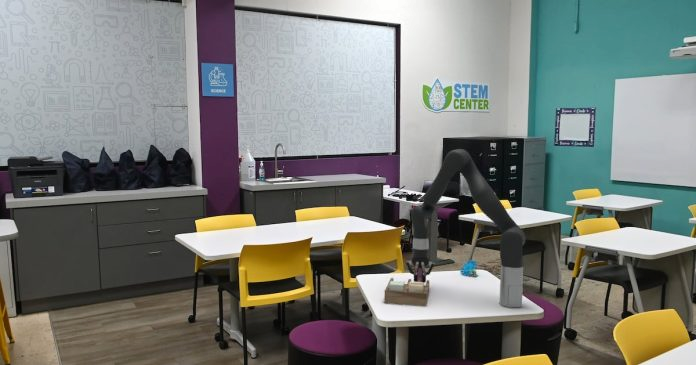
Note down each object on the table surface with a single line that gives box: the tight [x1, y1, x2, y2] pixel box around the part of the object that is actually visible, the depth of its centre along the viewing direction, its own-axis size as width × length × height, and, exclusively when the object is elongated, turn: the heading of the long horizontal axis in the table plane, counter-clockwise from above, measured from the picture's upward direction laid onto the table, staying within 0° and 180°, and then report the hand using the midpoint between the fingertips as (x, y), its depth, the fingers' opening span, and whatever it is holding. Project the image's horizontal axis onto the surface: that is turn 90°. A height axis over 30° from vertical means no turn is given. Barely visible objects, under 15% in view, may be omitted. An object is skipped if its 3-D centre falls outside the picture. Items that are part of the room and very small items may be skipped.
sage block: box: [389, 280, 406, 291], centre depth 237 cm, size 6×6×5 cm
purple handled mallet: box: [409, 268, 425, 293], centre depth 246 cm, size 27×6×9 cm, turn 168°
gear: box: [459, 259, 479, 277], centre depth 284 cm, size 11×6×10 cm
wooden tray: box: [383, 277, 430, 307], centre depth 243 cm, size 22×18×6 cm
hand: (419, 282), depth 258 cm, fingers closed on purple handled mallet, 3 cm apart
